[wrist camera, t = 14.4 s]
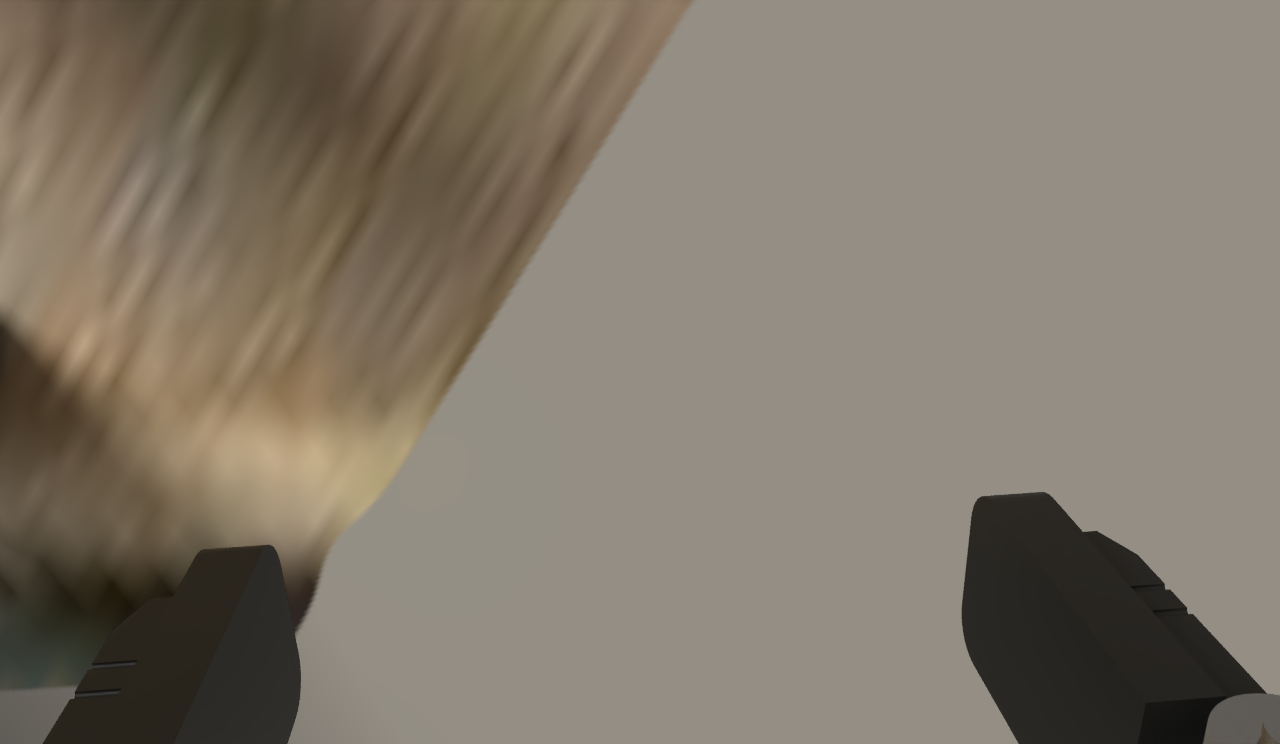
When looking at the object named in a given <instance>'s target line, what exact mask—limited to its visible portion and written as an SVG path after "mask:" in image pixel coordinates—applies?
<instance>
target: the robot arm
mask: <svg viewBox="0 0 1280 744" xmlns="http://www.w3.org/2000/svg"><path fill="white" fill-rule="evenodd" d="M962 626H963V633H964V638H965V643H966V646H967V650H968V653H969V656H970V658H971V660H972V662H973V664H974V666H975V668H976V670H977V671H978V673H979V675H980V676H981V678H982V680H983V682H984V684H985V685H986V687H987V689H988V691H989V692H990V694H991V696H992V698H993V699H994V701H995V703H996V704H997V706H998V708H999V710H1000V712H1001V713H1002V715H1003V717H1004V719H1005V720H1006V722H1007V724H1008V726H1009V727H1010V729H1011V731H1012V733H1013V734H1014V736H1015V738H1016V740H1017V741H1018V743H1019V744H1280V695H1274V694H1267V693H1266V692H1265V691H1264V690H1263V689H1262V688H1261V687H1260V686H1259V685H1258V683H1257V682H1256V681H1255V680H1254V679H1253V678H1252V677H1251V676H1250V675H1249V674H1248V673H1247V672H1246V671H1245V670H1244V668H1242V666H1241V665H1240V664H1239V663H1238V662H1237V661H1236V660H1235V659H1234V658H1233V657H1232V656H1231V655H1230V654H1229V652H1228V651H1227V650H1226V649H1225V648H1224V647H1223V646H1222V645H1221V644H1220V643H1219V642H1218V641H1217V639H1216V638H1215V637H1214V636H1213V635H1212V634H1211V633H1210V632H1209V631H1208V630H1207V629H1206V628H1205V627H1204V626H1203V624H1202V623H1201V622H1200V621H1199V620H1198V619H1197V618H1196V617H1195V616H1194V615H1193V614H1188V613H1187V607H1186V606H1185V605H1184V604H1183V603H1182V602H1181V601H1180V600H1179V599H1178V598H1177V597H1176V595H1175V594H1174V593H1173V592H1172V591H1171V590H1165V584H1164V583H1163V582H1162V580H1161V579H1160V578H1159V577H1158V576H1157V575H1156V574H1155V573H1154V572H1153V571H1152V570H1151V569H1150V568H1149V566H1148V565H1147V564H1146V563H1145V562H1144V561H1143V560H1142V559H1141V558H1140V557H1139V556H1138V555H1137V554H1135V553H1134V552H1132V551H1130V550H1128V549H1127V548H1125V547H1123V546H1122V545H1120V544H1118V543H1116V542H1115V541H1113V540H1111V539H1109V538H1108V537H1106V536H1104V535H1103V534H1101V533H1099V532H1098V531H1091V532H1082V531H1081V529H1080V528H1079V527H1078V526H1077V525H1076V524H1075V522H1074V521H1073V520H1072V519H1071V518H1070V517H1069V516H1068V515H1067V513H1066V512H1065V511H1064V510H1063V509H1062V508H1061V506H1060V505H1059V504H1058V503H1057V502H1056V501H1055V500H1054V499H1053V498H1052V497H1051V496H1050V495H1049V494H1047V493H1045V492H1037V493H1022V494H1009V495H994V496H982V497H980V498H978V499H977V501H976V502H975V505H974V507H973V512H972V517H971V526H970V536H969V545H968V555H967V564H966V573H965V582H964V592H963V601H962ZM92 664H93V668H92V670H88V671H87V673H86V675H85V676H84V678H83V679H82V681H81V683H80V684H79V686H78V687H77V689H76V691H75V698H74V699H70V700H69V702H68V704H67V705H66V707H65V708H64V710H63V712H62V713H61V715H60V716H59V718H58V720H57V721H56V723H55V725H54V726H53V728H52V729H51V731H50V733H49V734H48V736H47V738H46V739H45V741H44V742H43V744H287V743H288V740H289V737H290V734H291V731H292V728H293V725H294V722H295V718H296V715H297V711H298V706H299V700H300V688H301V670H300V659H299V654H298V649H297V643H296V638H295V633H294V628H293V624H292V619H291V614H290V609H289V604H288V599H287V594H286V589H285V584H284V579H283V574H282V569H281V564H280V560H279V557H278V554H277V552H276V550H275V549H274V547H273V546H271V545H260V546H246V547H232V548H218V549H204V550H201V551H200V552H199V553H198V554H197V555H196V557H195V559H194V560H193V562H192V564H191V566H190V568H189V569H188V571H187V573H186V575H185V577H184V578H183V580H182V582H181V584H180V585H179V587H178V589H177V591H176V593H175V594H174V596H173V597H160V598H151V599H150V600H149V601H147V602H146V603H145V604H144V605H142V606H141V607H140V608H139V609H138V610H136V611H135V612H134V613H133V614H131V615H130V616H129V617H128V618H127V619H125V620H124V621H123V622H122V623H120V624H119V625H118V626H117V627H116V628H114V629H113V631H112V633H111V634H110V636H109V637H108V639H107V641H106V642H105V644H104V645H103V647H102V649H101V650H100V652H99V654H98V655H97V657H96V658H95V660H94V662H93V663H92Z"/></svg>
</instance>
